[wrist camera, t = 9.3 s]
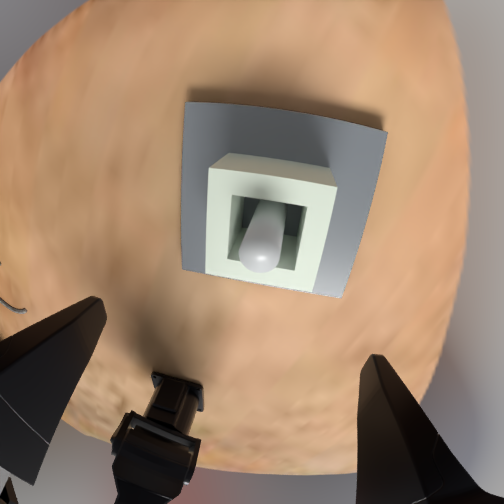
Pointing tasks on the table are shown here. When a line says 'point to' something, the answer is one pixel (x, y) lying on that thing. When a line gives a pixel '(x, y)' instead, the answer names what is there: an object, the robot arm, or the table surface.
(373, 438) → the robot arm
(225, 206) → the hollow square sleeve
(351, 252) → the post stand
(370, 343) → the table surface
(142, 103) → the table surface
